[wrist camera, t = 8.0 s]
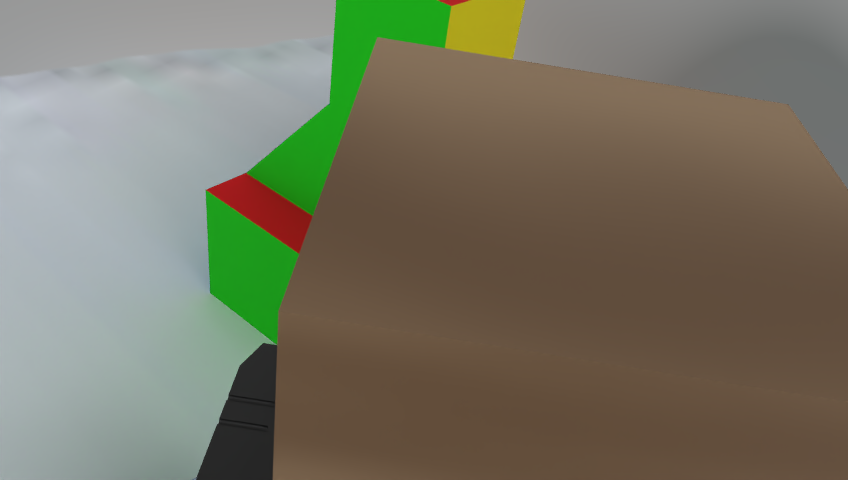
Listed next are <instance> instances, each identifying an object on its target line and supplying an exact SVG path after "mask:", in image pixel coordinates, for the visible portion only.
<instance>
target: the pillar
mask: <svg viewBox="0 0 848 480" xmlns="http://www.w3.org/2000/svg"><path fill="white" fill-rule="evenodd" d="M273 480H848V189H847V188H846V186H845V185H844V183H843V182H842V181H841V179H840V178H839V176H838V175H837V174H836V172H835V171H834V169H833V168H832V166H831V165H830V163H829V162H828V161H827V159H826V158H825V156H824V155H823V153H822V152H821V151H820V150H819V148H818V146H817V145H816V143H815V142H814V140H813V139H812V138H811V136H810V135H809V133H808V132H807V131H806V129H805V128H804V126H803V125H802V123H801V122H800V120H799V119H798V118H797V116H796V115H795V113H794V112H793V110H792V109H791V108H790V106H789V105H788V104H782V103H775V102H769V101H763V100H757V99H751V98H745V97H738V96H733V95H727V94H721V93H714V92H709V91H702V90H696V89H690V88H684V87H678V86H672V85H666V84H660V83H654V82H647V81H642V80H635V79H629V78H623V77H617V76H611V75H605V74H599V73H593V72H586V71H581V70H574V69H568V68H562V67H556V66H550V65H544V64H538V63H532V62H526V61H520V60H514V59H507V58H501V57H495V56H489V55H483V54H477V53H471V52H465V51H459V50H453V49H446V48H440V47H434V46H428V45H422V44H416V43H410V42H404V41H398V40H392V39H386V38H379V37H377V40H376V43H375V45H374V48H373V51H372V54H371V56H370V59H369V62H368V65H367V67H366V70H365V73H364V76H363V79H362V81H361V84H360V87H359V90H358V92H357V95H356V98H355V101H354V103H353V106H352V109H351V112H350V114H349V117H348V120H347V123H346V126H345V128H344V131H343V134H342V137H341V139H340V142H339V145H338V148H337V150H336V153H335V156H334V159H333V162H332V164H331V167H330V170H329V173H328V175H327V178H326V181H325V184H324V186H323V189H322V192H321V195H320V198H319V200H318V203H317V206H316V209H315V211H314V214H313V217H312V220H311V222H310V225H309V228H308V231H307V233H306V236H305V239H304V242H303V245H302V247H301V250H300V253H299V256H298V258H297V261H296V264H295V267H294V269H293V272H292V275H291V278H290V281H289V283H288V286H287V289H286V292H285V294H284V297H283V300H282V303H281V305H280V308H279V311H278V339H277V368H276V398H275V427H274V457H273Z"/></svg>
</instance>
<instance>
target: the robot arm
mask: <svg viewBox="0 0 848 480" xmlns="http://www.w3.org/2000/svg"><path fill="white" fill-rule="evenodd" d="M276 368H277V345H272V344H265V343H263V344H262V345H261V346H260V347H259V348H258V349H257V350H256V351H255V352H254V353H253V354H252V355H251V356H249V357H248V358H247V359H246V360H245V361H244V362H243V363H242V364H241V365H240V367H239V369H238V372H237V374H236V377H235V380H234V382H233V385H232V387H231V390H230V393H229V397H228V400H226V403H225V405H224V408H223V411H222V413H221V416H220V419H219V424H217V426H216V429H215V431H214V434H213V436H212V439H211V442H210V444H209V447H208V449H207V452H206V455H205V457H204V460H203V462H202V465H201V468H200V470H199V473H198V475H197V478H196V480H273V457H274V427H275V398H276Z"/></svg>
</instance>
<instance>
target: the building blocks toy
mask: <svg viewBox="0 0 848 480" xmlns="http://www.w3.org/2000/svg"><path fill="white" fill-rule="evenodd" d="M524 4H525V0H336V13H335V28H334V30H335V31H334V44H333V59H332V75H331V90H330V104H328V105H327V106H326V107H325V108H323V109H322V110H321V111H320V112H319V113H318V114H316V115H315V116H314V117H313V118H312V119H310V120H309V121H308V122H307V123H306V124H304V125H303V126H302V127H301V128H300V129H298V130H297V131H296V132H295V133H294V134H292V135H291V136H290V137H289V138H288V139H286V140H285V141H284V142H283V143H282V144H281V145H279V146H278V147H277V148H276V149H275V150H273V151H272V152H271V153H270V154H269V155H267V156H266V157H265V158H264V159H263V160H261V161H260V162H259V163H258V164H257V165H255V166H254V167H253V168H252V169H251V170H249V171H248V172H247V173H245V174H242V175H240V176H238V177H235V178H233V179H231V180H228V181H226V182H223V183H221V184H219V185H216V186H214V187H212V188H209V189H207V190H206V207H207V229H208V252H209V274H210V293H211V294H212V295H214V296H215V297H216V298H218V299H219V300H220V301H221V302H223V303H224V304H225V305H227V306H228V307H229V308H230V309H232V310H233V311H234V312H236V313H237V314H238V315H239V316H241V317H242V318H243V319H245V320H246V321H247V322H248V323H250V324H251V325H252V326H254V327H255V328H256V329H257V330H259V331H260V332H261V333H263V334H264V335H265V336H266V337H268V338H269V339H270V340H272V341H273V342H274V343H275V344H277V339H278V311H279V308H280V305H281V303H282V300H283V297H284V294H285V292H286V289H287V286H288V283H289V281H290V278H291V275H292V272H293V269H294V267H295V264H296V261H297V258H298V256H299V253H300V250H301V247H302V245H303V242H304V239H305V236H306V233H307V231H308V228H309V225H310V222H311V220H312V217H313V214H314V211H315V209H316V206H317V203H318V200H319V198H320V195H321V192H322V189H323V186H324V184H325V181H326V178H327V175H328V173H329V170H330V167H331V164H332V162H333V159H334V156H335V153H336V150H337V148H338V145H339V142H340V139H341V137H342V134H343V131H344V128H345V126H346V123H347V120H348V117H349V114H350V112H351V109H352V106H353V103H354V101H355V98H356V95H357V92H358V90H359V87H360V84H361V81H362V79H363V76H364V73H365V70H366V67H367V65H368V62H369V59H370V56H371V54H372V51H373V48H374V45H375V43H376V40H377V37H379V38H386V39H392V40H398V41H404V42H410V43H416V44H422V45H428V46H434V47H440V48H446V49H453V50H459V51H465V52H471V53H477V54H483V55H489V56H495V57H501V58H507V59H513V55H514V50H515V46H516V41H517V36H518V32H519V27H520V22H521V18H522V13H523V8H524Z"/></svg>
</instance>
